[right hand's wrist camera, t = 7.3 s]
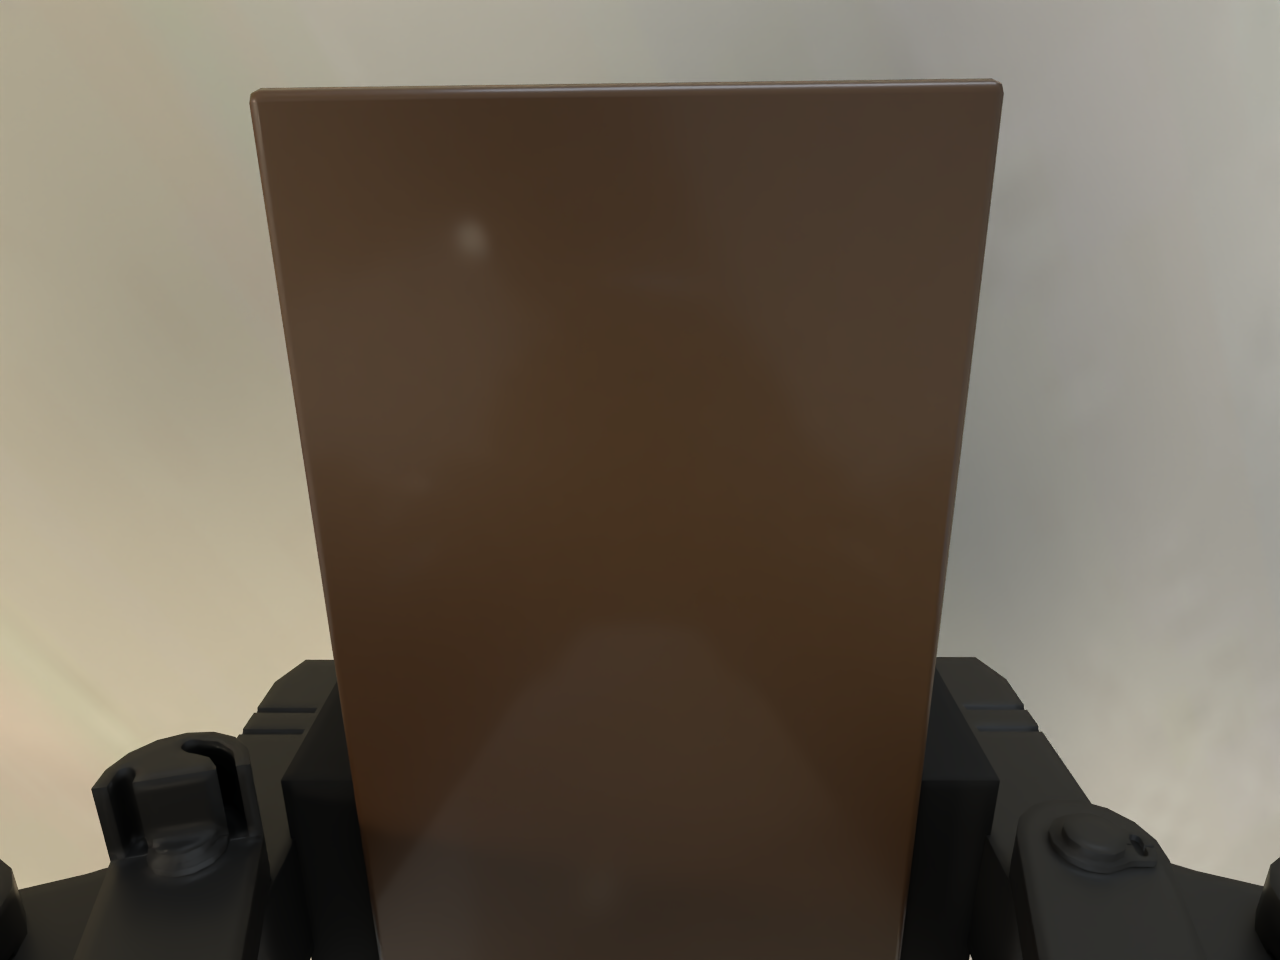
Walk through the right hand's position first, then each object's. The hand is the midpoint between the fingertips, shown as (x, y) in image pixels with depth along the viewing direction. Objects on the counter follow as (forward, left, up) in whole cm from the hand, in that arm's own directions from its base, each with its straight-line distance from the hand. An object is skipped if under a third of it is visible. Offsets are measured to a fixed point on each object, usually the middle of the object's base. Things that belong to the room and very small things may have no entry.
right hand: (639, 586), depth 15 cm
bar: (+9, -29, -1) cm, 30 cm away
